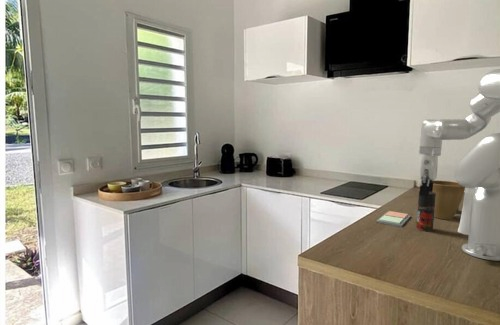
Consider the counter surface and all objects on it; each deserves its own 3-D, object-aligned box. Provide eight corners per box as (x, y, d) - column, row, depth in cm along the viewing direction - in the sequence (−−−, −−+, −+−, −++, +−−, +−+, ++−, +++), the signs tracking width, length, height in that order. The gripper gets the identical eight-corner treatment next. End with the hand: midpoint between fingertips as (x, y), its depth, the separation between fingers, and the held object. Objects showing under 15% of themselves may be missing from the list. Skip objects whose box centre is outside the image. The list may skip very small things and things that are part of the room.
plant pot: (467, 223, 139) (470, 187, 137) (427, 220, 144) (430, 184, 142) (457, 214, 153) (460, 181, 151) (422, 211, 158) (424, 179, 156)
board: (401, 226, 134) (401, 223, 134) (376, 222, 140) (376, 219, 139) (410, 217, 148) (410, 214, 148) (387, 213, 154) (387, 210, 154)
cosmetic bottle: (478, 233, 127) (483, 177, 124) (473, 236, 123) (478, 179, 120) (460, 229, 131) (465, 175, 129) (455, 232, 127) (460, 177, 125)
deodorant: (412, 227, 133) (415, 191, 131) (423, 226, 135) (426, 190, 133) (425, 232, 128) (428, 194, 126) (436, 230, 130) (439, 193, 128)
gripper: (437, 153, 119) (433, 199, 121) (443, 150, 132) (439, 191, 135) (415, 152, 123) (411, 196, 126) (423, 148, 137) (419, 188, 139)
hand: (426, 193), depth 130 cm, fingers open, 9 cm apart
